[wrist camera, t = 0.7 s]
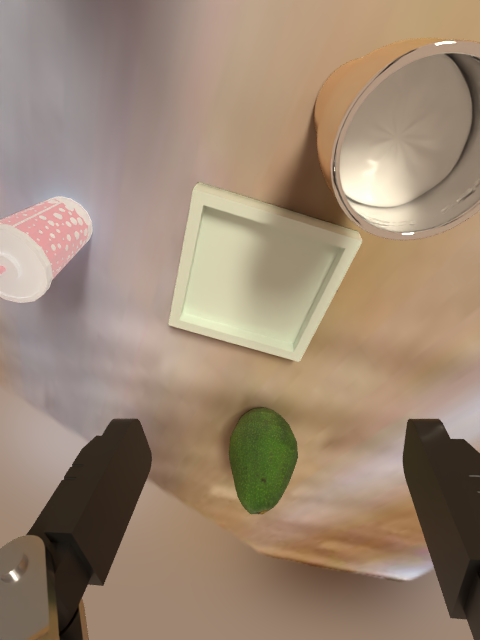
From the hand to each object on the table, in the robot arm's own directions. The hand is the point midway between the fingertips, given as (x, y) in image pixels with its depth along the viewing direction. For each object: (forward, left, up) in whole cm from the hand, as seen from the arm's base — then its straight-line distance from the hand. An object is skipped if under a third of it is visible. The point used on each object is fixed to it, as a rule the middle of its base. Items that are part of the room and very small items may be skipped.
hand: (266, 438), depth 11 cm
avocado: (+26, +7, -23) cm, 36 cm away
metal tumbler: (-8, +3, -23) cm, 24 cm away
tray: (+7, 0, -23) cm, 24 cm away
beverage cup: (+7, -18, -23) cm, 30 cm away
